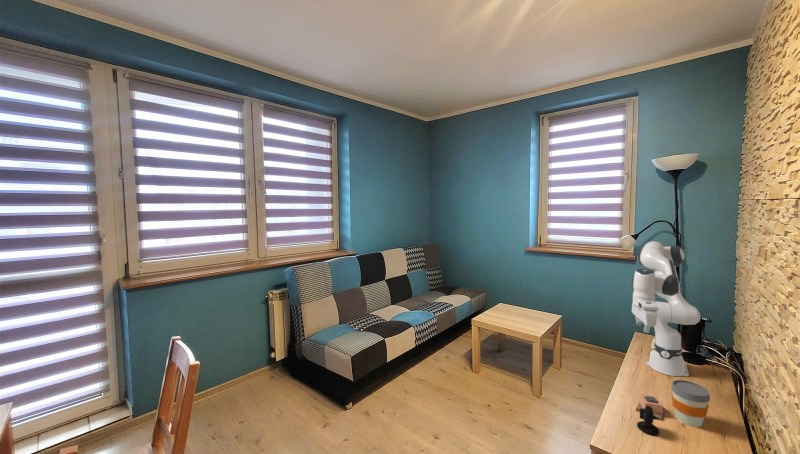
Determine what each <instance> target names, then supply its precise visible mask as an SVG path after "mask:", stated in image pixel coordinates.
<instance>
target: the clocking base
mask: <svg viewBox="0 0 800 454" xmlns="http://www.w3.org/2000/svg"><path fill="white" fill-rule="evenodd" d="M655 397H656V396H652V395H646V401H647V402H651V403H657V400H656V399H655ZM640 408H642V406H641V404H640V403H638V405H637V406H636V409H635V411H636V412H639V413H640ZM642 409H643V408H642ZM665 412H666V408H665V407H664V406H663V414H658V413H653V415H654V416H655V417H657V418H659V419H660V420H659V421H662V418H663V416H664V414H665Z"/></svg>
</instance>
